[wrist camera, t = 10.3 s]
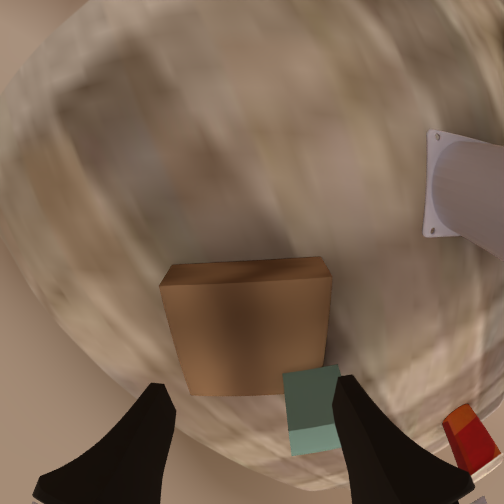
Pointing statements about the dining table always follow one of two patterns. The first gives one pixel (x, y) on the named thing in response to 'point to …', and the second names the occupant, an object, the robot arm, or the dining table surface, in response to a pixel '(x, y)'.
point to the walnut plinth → (247, 322)
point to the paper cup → (471, 443)
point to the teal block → (311, 409)
